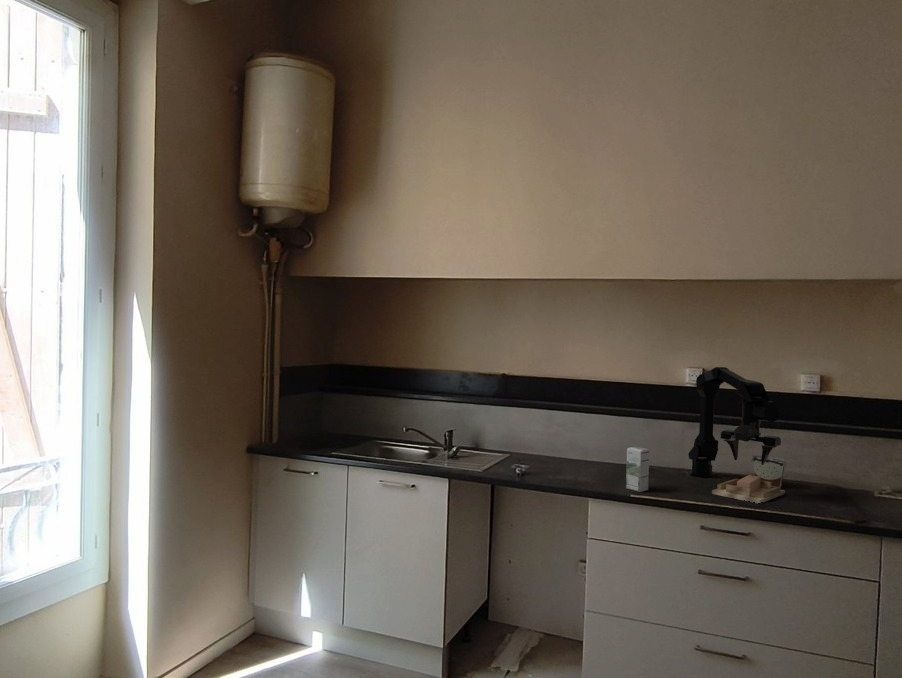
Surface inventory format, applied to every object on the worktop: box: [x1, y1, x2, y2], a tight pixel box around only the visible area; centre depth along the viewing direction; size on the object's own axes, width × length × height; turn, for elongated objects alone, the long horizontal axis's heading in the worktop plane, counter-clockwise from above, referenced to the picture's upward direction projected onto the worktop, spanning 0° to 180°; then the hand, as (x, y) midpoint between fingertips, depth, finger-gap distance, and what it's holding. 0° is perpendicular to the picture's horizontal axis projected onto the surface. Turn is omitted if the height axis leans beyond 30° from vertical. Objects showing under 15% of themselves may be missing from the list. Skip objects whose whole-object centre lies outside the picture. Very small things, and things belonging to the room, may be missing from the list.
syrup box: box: [625, 446, 650, 493], centre depth 228 cm, size 6×6×14 cm
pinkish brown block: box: [737, 474, 761, 493], centre depth 228 cm, size 4×14×4 cm, turn 140°
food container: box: [750, 455, 787, 488], centre depth 244 cm, size 12×6×10 cm, turn 41°
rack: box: [711, 478, 786, 504], centre depth 228 cm, size 16×22×4 cm
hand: (749, 462), depth 228 cm, fingers open, 9 cm apart
